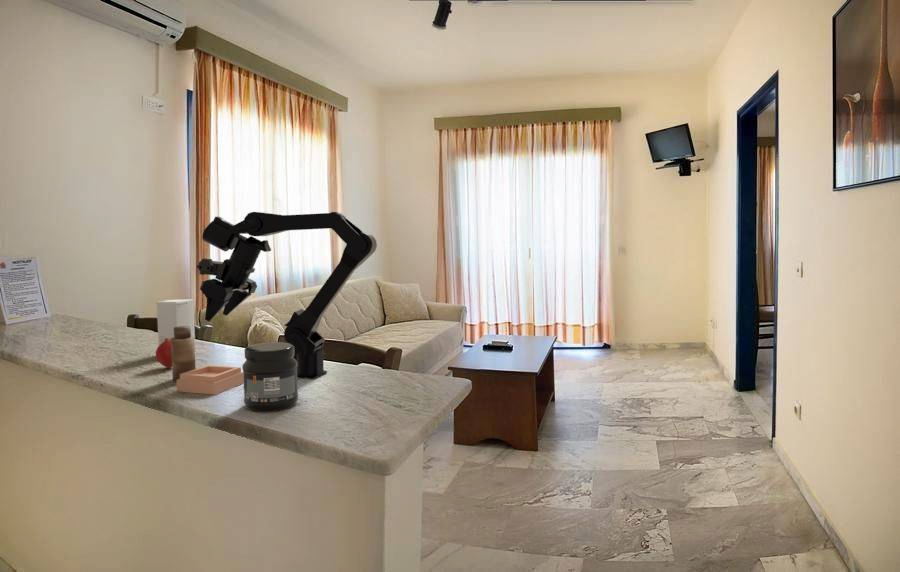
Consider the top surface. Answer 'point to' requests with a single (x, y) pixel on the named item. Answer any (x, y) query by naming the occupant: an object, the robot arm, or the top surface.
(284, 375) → the supplement container
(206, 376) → the mill holder
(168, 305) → the skincare box
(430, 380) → the top surface
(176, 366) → the pepper mill
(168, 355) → the onion
